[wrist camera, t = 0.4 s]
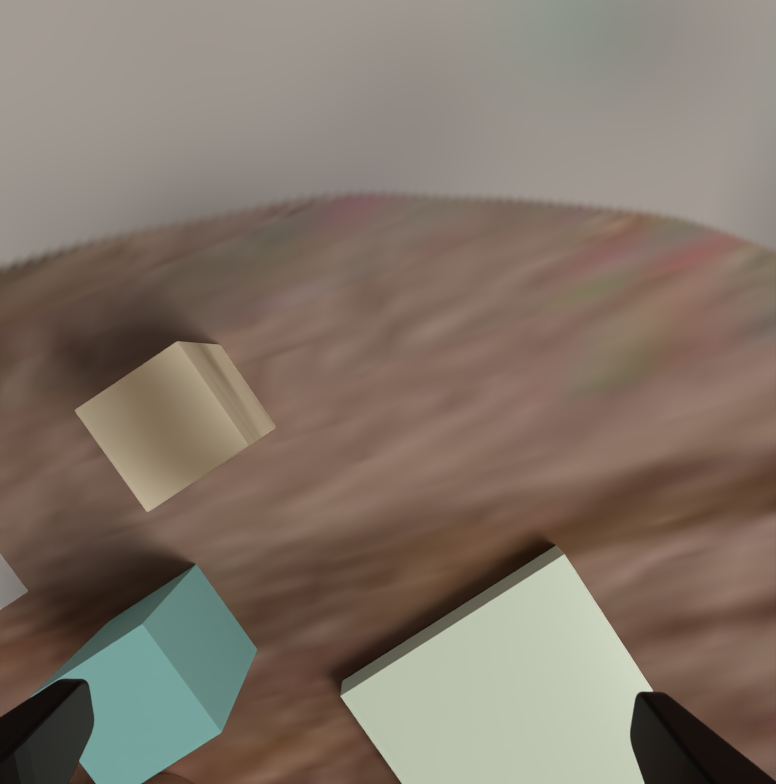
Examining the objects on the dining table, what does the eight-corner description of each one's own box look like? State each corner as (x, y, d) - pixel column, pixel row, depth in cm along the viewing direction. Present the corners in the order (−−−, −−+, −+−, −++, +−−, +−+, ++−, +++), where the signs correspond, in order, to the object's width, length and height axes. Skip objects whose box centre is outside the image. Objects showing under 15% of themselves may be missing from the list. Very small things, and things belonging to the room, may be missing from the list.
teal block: (171, 704, 22) (110, 803, 17) (109, 620, 22) (30, 696, 17) (257, 648, 22) (221, 732, 17) (197, 563, 22) (142, 623, 17)
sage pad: (477, 873, 23) (482, 896, 22) (342, 681, 22) (340, 696, 21) (686, 746, 23) (700, 764, 22) (556, 545, 22) (564, 554, 21)
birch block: (196, 480, 22) (147, 512, 17) (139, 399, 21) (74, 410, 17) (276, 427, 22) (249, 445, 17) (220, 344, 21) (177, 341, 17)
